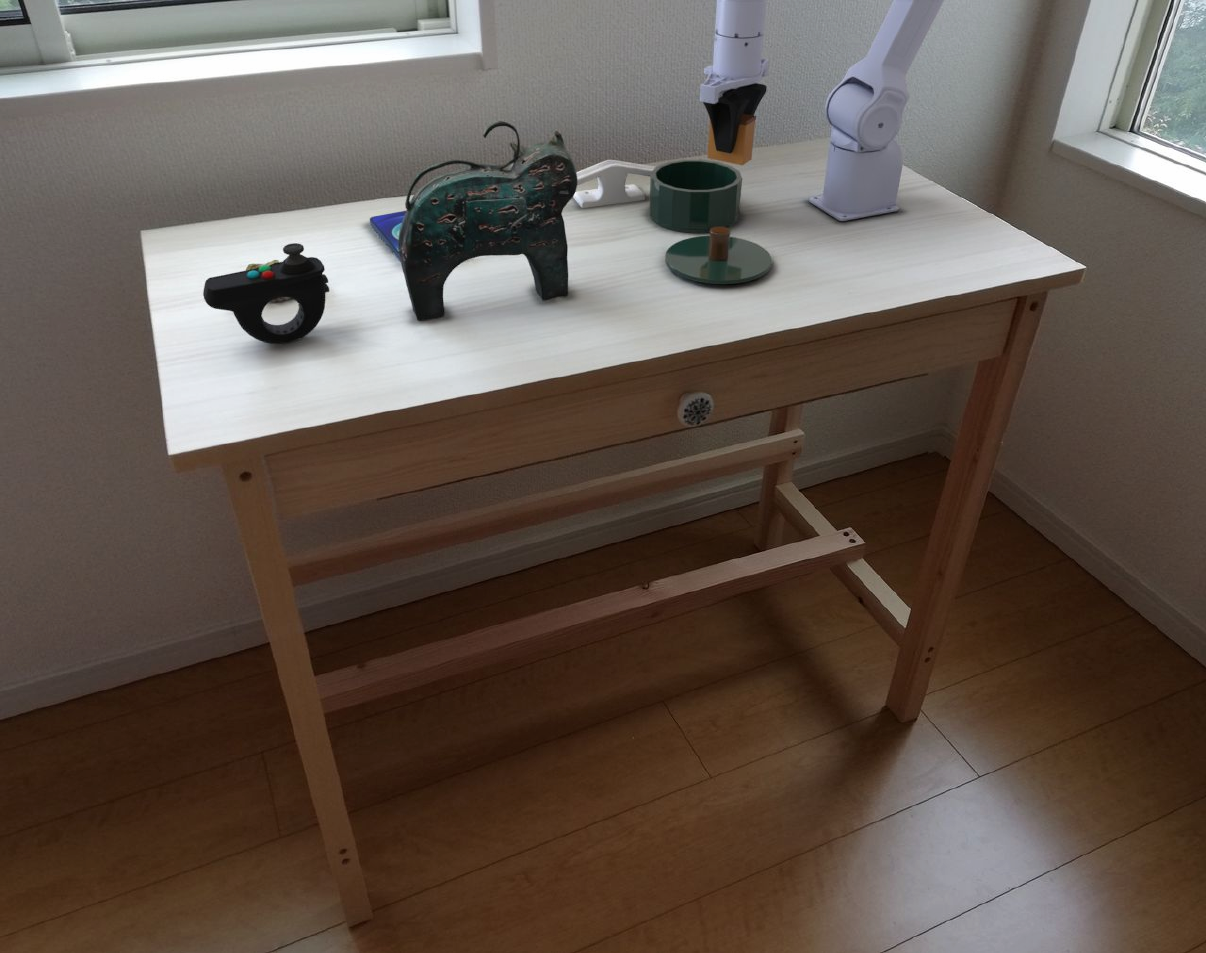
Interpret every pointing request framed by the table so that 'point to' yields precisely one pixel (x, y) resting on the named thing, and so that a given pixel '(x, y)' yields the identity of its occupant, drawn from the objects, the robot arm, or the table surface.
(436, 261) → the ceramic cat
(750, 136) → the brown block
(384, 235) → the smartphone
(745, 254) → the lid
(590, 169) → the mooring cleat
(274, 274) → the controller
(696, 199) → the pot
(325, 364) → the table surface
